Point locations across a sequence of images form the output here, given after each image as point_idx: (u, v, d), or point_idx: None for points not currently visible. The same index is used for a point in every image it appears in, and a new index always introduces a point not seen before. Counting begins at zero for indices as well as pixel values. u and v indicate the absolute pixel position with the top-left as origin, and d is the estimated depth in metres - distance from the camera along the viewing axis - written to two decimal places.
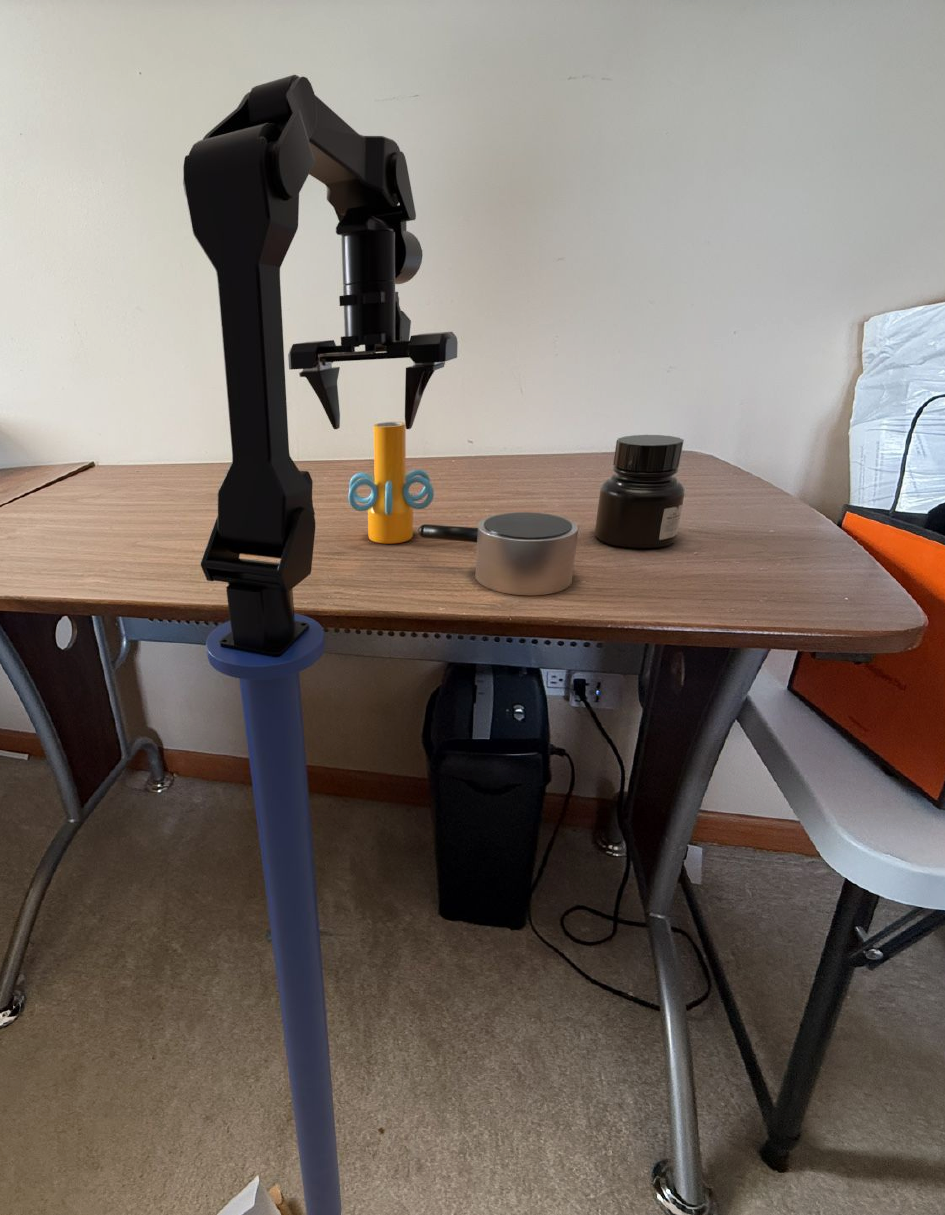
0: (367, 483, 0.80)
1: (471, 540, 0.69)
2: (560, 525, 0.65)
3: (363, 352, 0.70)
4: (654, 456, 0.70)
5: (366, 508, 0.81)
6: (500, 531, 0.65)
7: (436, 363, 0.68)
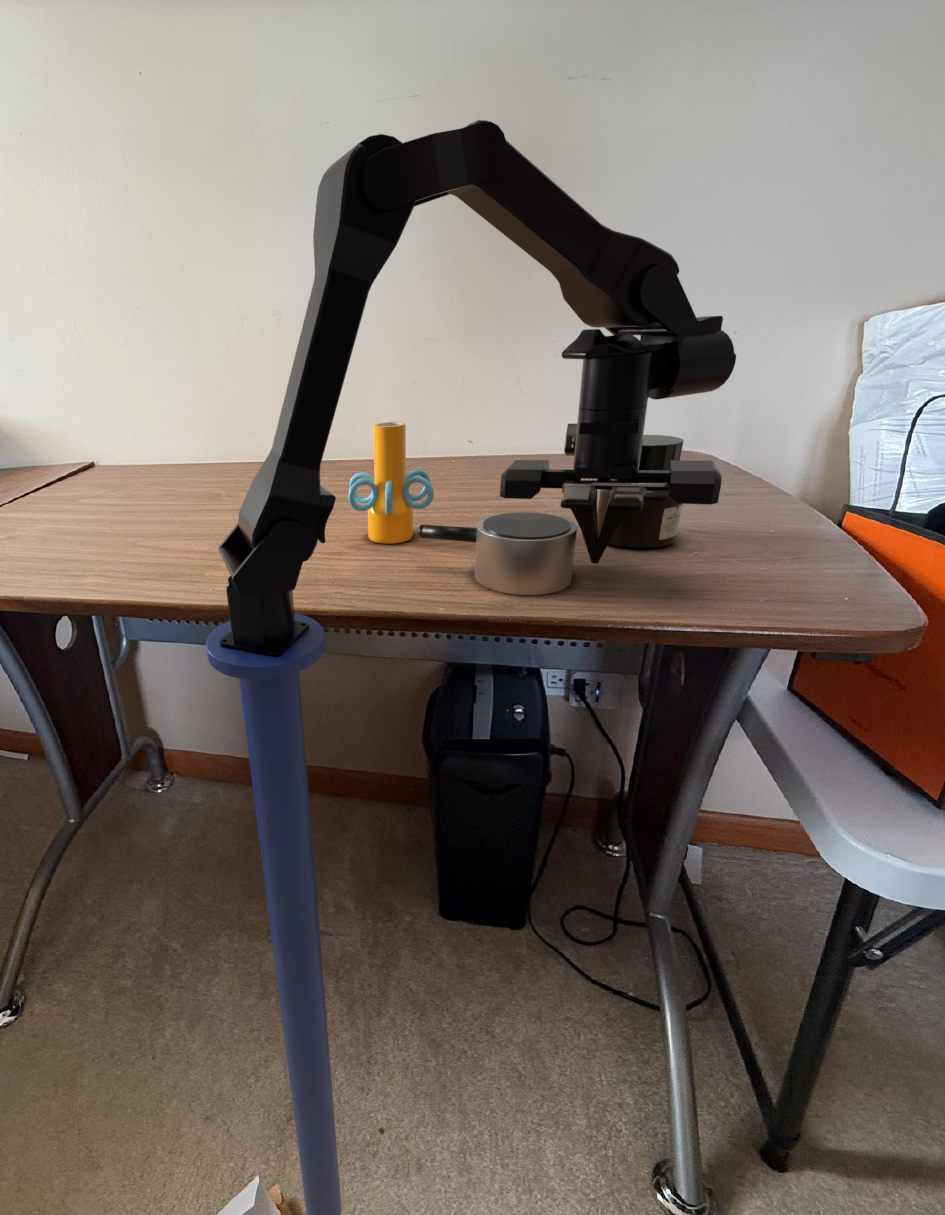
0: (367, 483, 0.80)
1: (470, 540, 0.69)
2: (559, 525, 0.65)
3: (655, 484, 0.58)
4: (654, 456, 0.70)
5: (366, 508, 0.81)
6: (499, 531, 0.65)
7: (641, 498, 0.60)
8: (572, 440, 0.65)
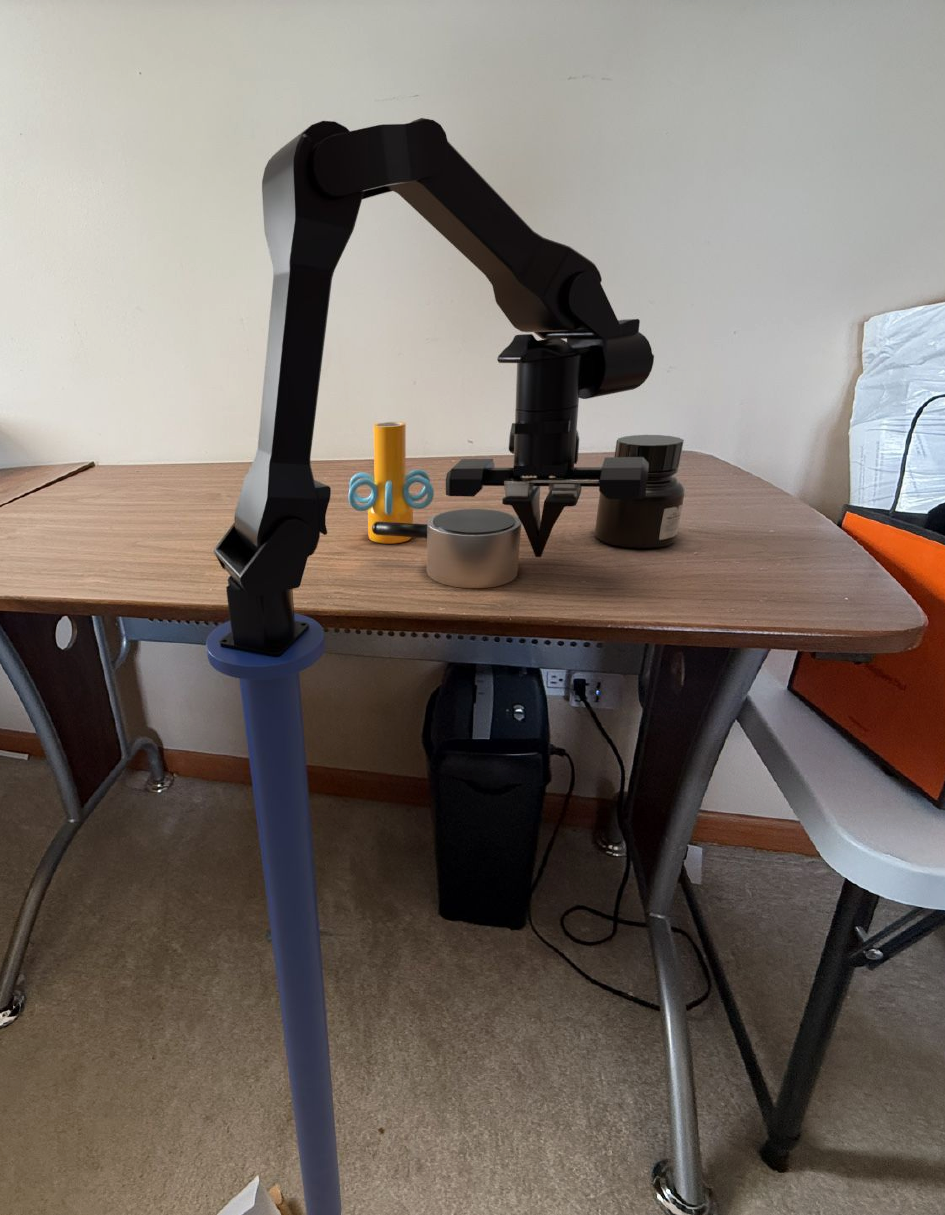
0: (367, 483, 0.80)
1: (421, 536, 0.72)
2: (504, 520, 0.68)
3: (588, 481, 0.61)
4: (654, 456, 0.70)
5: (366, 508, 0.81)
6: (447, 527, 0.68)
7: (577, 494, 0.62)
8: None
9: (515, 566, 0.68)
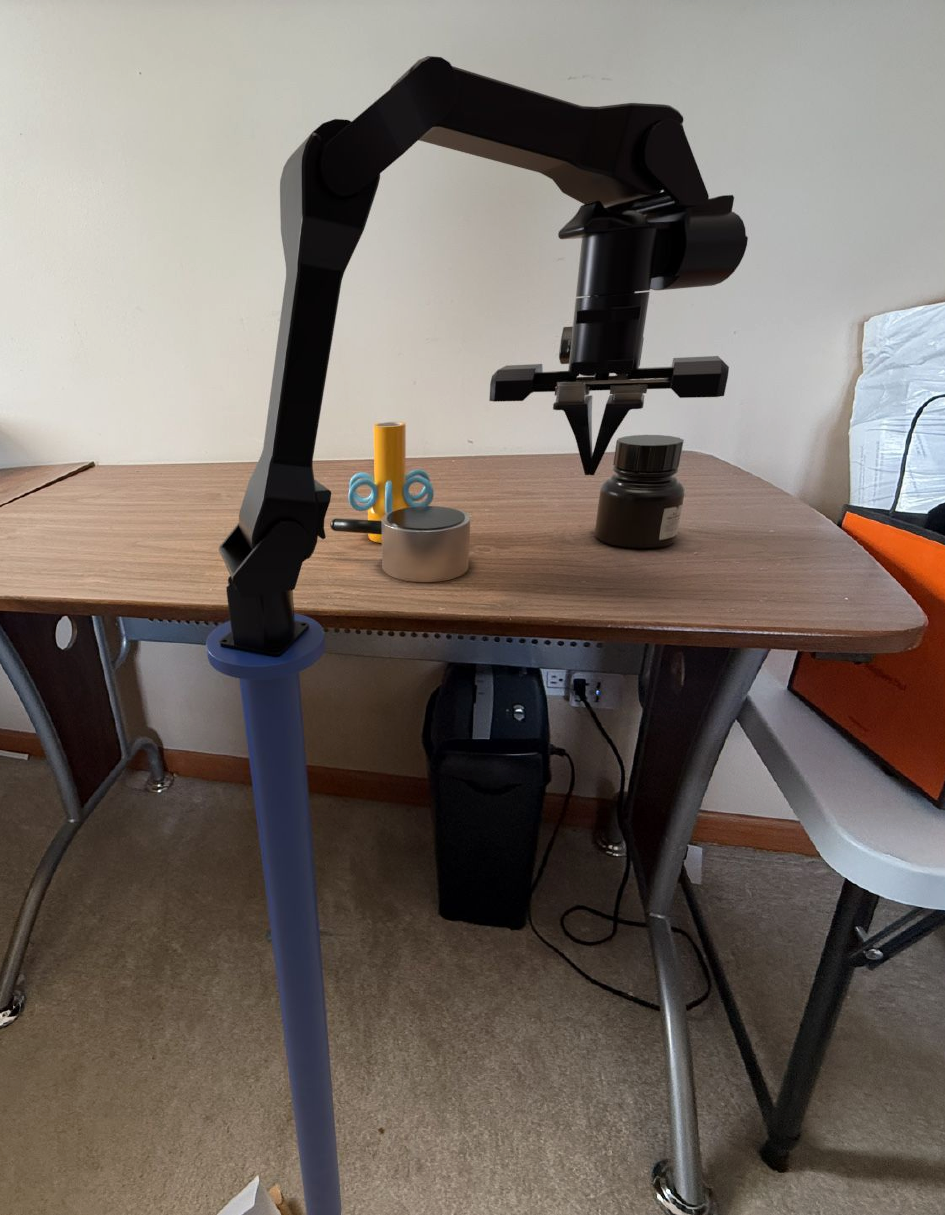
0: (367, 483, 0.80)
1: (376, 532, 0.74)
2: (454, 517, 0.71)
3: (655, 380, 0.53)
4: (654, 456, 0.70)
5: (366, 508, 0.81)
6: (399, 523, 0.70)
7: None
8: (567, 343, 0.61)
9: (465, 561, 0.71)
